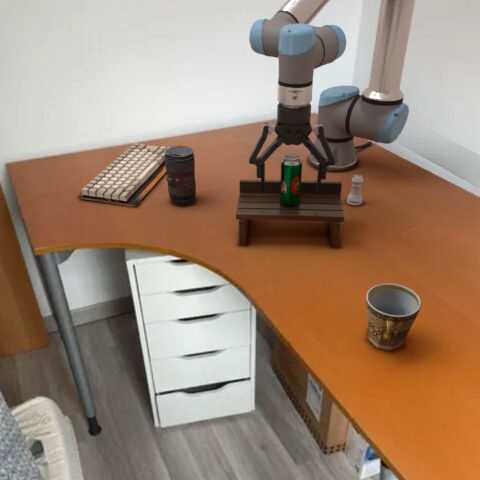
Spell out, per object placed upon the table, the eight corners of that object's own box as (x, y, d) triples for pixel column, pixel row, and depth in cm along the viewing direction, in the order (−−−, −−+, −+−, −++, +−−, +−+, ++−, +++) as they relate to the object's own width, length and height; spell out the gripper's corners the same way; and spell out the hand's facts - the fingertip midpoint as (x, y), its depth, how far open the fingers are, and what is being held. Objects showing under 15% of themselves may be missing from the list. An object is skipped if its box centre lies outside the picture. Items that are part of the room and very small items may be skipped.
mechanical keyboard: (136, 207, 148) (134, 196, 146) (76, 200, 153) (74, 189, 151) (183, 155, 177) (182, 145, 175) (132, 150, 181) (130, 140, 179)
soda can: (278, 198, 133) (279, 153, 126) (298, 197, 133) (300, 152, 126) (281, 208, 129) (282, 162, 122) (301, 207, 129) (304, 161, 122)
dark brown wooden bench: (240, 217, 143) (240, 178, 136) (337, 219, 141) (341, 180, 134) (236, 245, 132) (235, 204, 125) (340, 248, 130) (345, 206, 123)
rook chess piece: (364, 200, 149) (367, 174, 144) (360, 207, 146) (363, 181, 141) (348, 197, 151) (352, 171, 146) (344, 204, 147) (347, 178, 143)
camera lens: (193, 208, 147) (189, 157, 138) (165, 206, 149) (159, 155, 139) (200, 195, 153) (197, 145, 144) (174, 192, 155) (169, 144, 146)
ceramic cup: (362, 318, 109) (369, 279, 103) (412, 327, 106) (422, 287, 100) (355, 361, 99) (361, 321, 93) (409, 372, 97) (420, 331, 91)
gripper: (236, 108, 114) (238, 196, 127) (352, 109, 112) (342, 198, 125) (239, 97, 120) (241, 182, 133) (349, 98, 118) (340, 184, 131)
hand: (290, 190), depth 129 cm, fingers open, 13 cm apart
